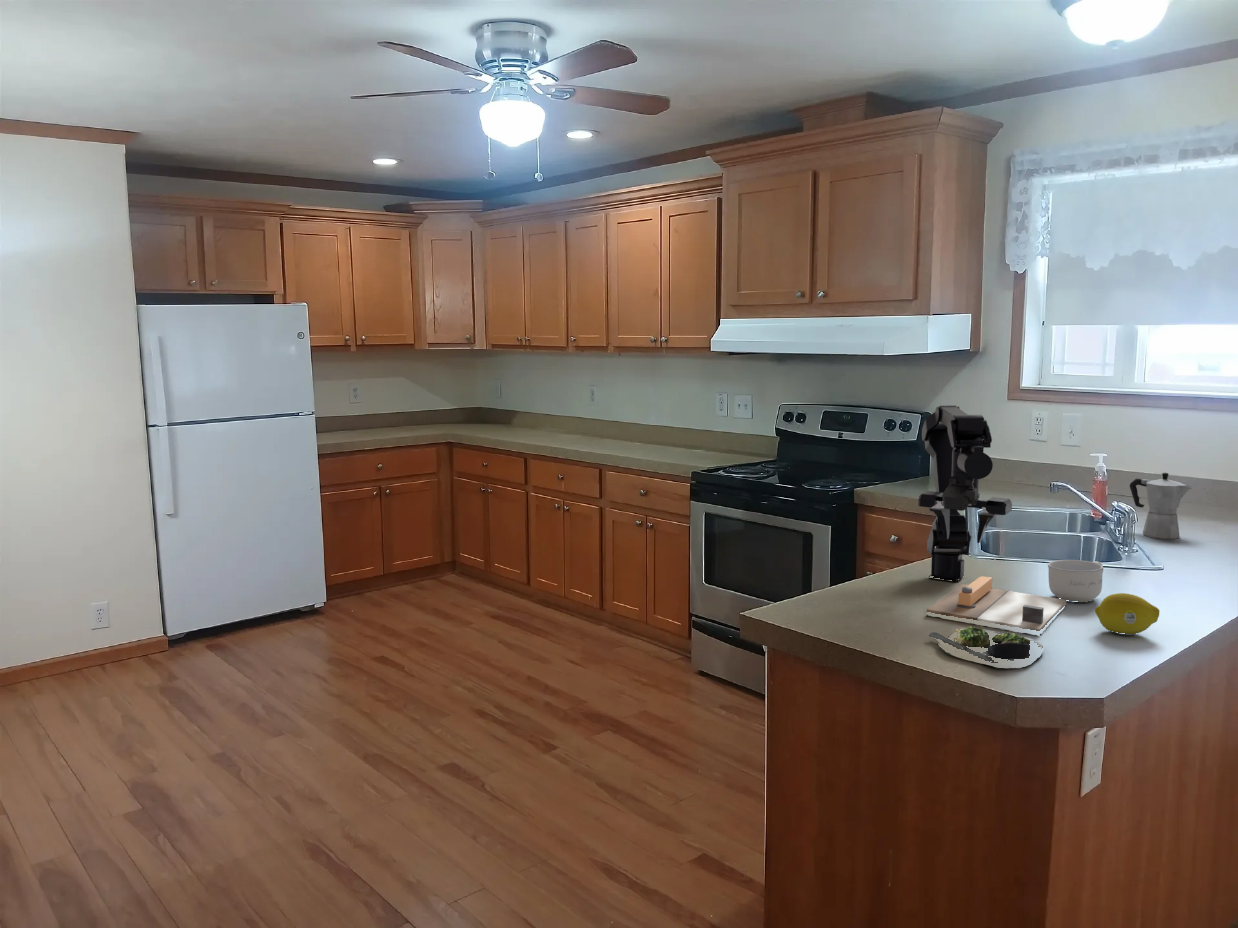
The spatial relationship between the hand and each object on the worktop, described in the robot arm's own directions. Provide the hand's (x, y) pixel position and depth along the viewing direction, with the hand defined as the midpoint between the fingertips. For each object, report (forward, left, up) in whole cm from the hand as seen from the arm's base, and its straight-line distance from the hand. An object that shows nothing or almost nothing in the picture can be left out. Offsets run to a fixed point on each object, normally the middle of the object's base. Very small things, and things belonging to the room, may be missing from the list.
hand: (962, 540), depth 200 cm
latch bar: (+5, -6, -11) cm, 13 cm away
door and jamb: (+10, -8, -12) cm, 18 cm away
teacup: (+22, +12, -13) cm, 28 cm away
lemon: (+34, -8, -13) cm, 37 cm away
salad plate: (+16, -33, -13) cm, 39 cm away
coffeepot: (+27, +89, -13) cm, 94 cm away
